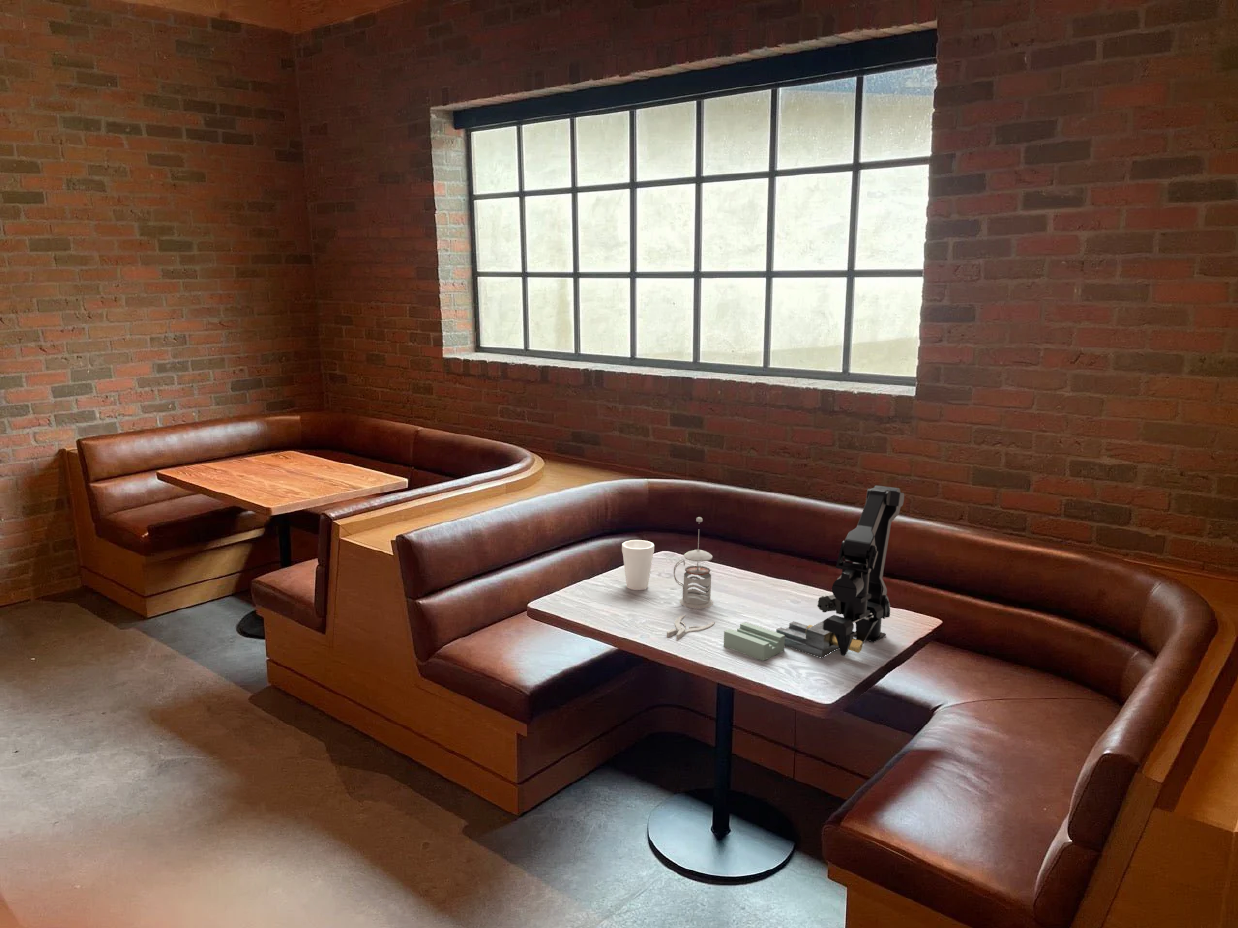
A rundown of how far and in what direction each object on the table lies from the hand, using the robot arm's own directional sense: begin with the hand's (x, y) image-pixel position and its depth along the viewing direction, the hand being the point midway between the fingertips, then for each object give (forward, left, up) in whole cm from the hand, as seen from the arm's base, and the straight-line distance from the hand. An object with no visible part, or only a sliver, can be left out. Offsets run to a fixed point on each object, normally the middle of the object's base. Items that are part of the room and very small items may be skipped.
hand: (851, 650), depth 211 cm
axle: (0, -5, +2) cm, 5 cm away
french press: (-2, -51, -2) cm, 51 cm away
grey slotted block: (0, -12, -2) cm, 12 cm away
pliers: (+14, -40, -3) cm, 43 cm away
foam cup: (0, -71, -2) cm, 71 cm away
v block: (+12, -20, -2) cm, 23 cm away
